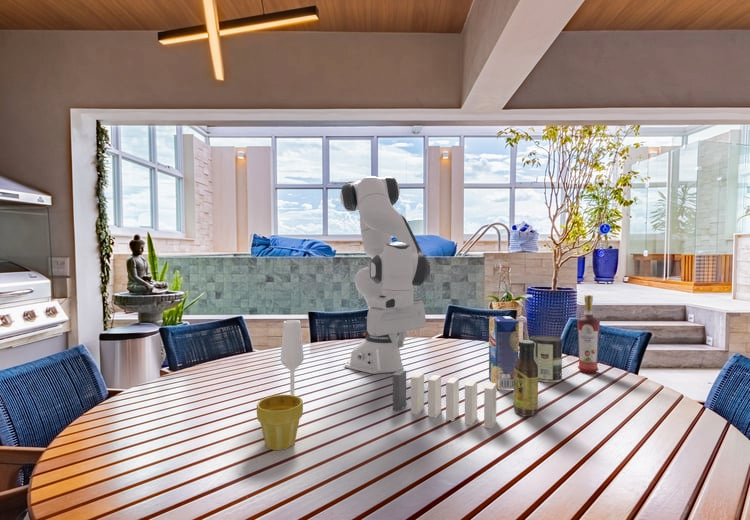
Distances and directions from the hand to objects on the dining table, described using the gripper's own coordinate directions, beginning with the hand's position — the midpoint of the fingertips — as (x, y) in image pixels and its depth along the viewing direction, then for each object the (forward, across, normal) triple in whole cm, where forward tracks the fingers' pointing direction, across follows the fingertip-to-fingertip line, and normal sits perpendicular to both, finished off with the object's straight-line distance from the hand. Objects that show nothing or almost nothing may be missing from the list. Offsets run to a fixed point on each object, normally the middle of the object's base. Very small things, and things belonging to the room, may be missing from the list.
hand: (397, 347), depth 119 cm
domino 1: (+17, 0, +1) cm, 17 cm away
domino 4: (+17, -6, +15) cm, 23 cm away
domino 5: (+17, -8, +20) cm, 27 cm away
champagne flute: (+17, +21, -22) cm, 35 cm away
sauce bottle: (+17, -23, +26) cm, 39 cm away
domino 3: (+17, -4, +11) cm, 20 cm away
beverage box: (+17, -40, +9) cm, 44 cm away
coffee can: (+17, -57, +15) cm, 62 cm away
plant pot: (+17, +36, -1) cm, 40 cm away
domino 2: (+17, -2, +6) cm, 18 cm away
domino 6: (+17, -9, +24) cm, 31 cm away
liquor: (+17, -76, +21) cm, 81 cm away
